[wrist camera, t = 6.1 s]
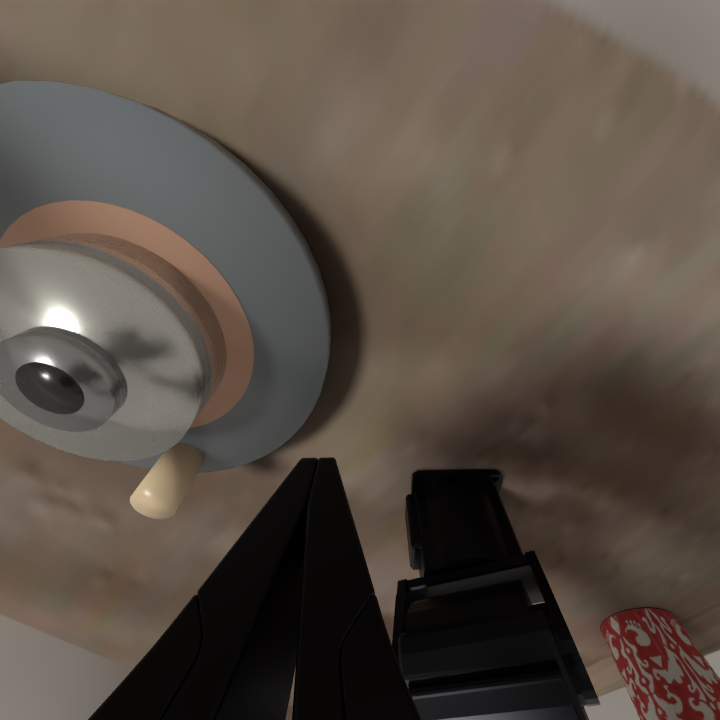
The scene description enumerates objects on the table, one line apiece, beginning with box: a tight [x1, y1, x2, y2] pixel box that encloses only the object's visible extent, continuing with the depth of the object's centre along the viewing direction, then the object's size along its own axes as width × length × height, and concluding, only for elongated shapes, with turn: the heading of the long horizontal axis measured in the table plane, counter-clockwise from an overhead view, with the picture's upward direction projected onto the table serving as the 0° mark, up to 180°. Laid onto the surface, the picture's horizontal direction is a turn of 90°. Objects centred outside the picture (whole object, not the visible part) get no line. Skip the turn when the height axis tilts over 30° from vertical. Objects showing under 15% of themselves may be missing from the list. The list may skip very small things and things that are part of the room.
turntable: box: [0, 81, 331, 519], centre depth 16 cm, size 20×20×5 cm
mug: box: [601, 608, 720, 720], centre depth 30 cm, size 13×9×14 cm
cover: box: [0, 233, 227, 461], centre depth 14 cm, size 10×10×5 cm
